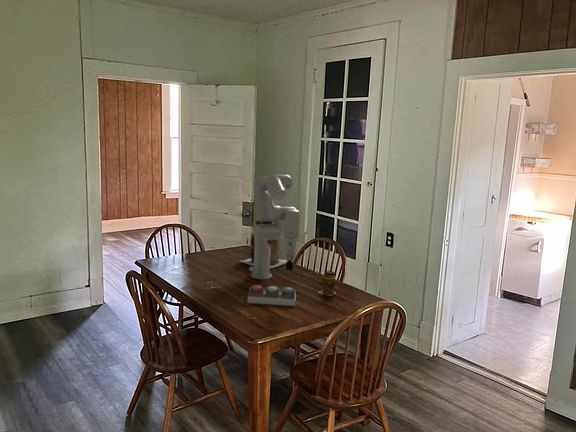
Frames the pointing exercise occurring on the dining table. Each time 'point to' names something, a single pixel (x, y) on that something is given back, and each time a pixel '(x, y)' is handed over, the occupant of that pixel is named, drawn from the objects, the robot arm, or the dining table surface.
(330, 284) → the condiment
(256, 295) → the button housing
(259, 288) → the red button
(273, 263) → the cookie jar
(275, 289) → the sage button
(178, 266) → the dining table surface
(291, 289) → the blue button
